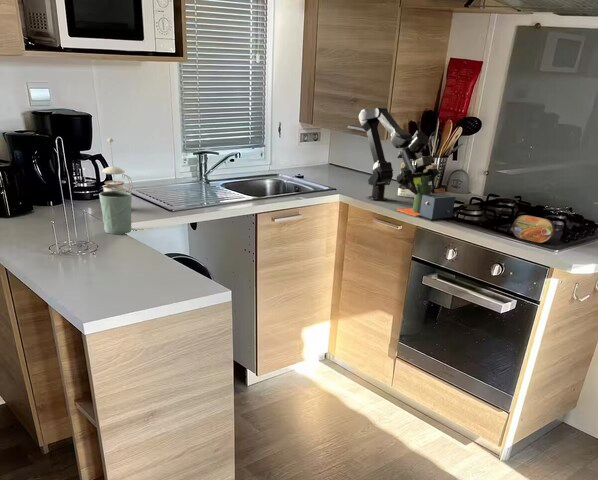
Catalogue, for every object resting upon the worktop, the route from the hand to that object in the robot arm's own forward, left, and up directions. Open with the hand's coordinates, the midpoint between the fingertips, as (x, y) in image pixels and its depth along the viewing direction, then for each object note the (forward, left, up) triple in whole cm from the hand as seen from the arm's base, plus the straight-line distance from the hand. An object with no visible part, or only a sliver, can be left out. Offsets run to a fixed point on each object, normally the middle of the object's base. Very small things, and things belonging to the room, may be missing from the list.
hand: (425, 193), depth 246 cm
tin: (+43, +24, -8) cm, 50 cm away
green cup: (+25, -121, -8) cm, 124 cm away
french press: (-7, -122, -8) cm, 122 cm away
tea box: (-34, +11, -8) cm, 37 cm away
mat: (-2, -1, -8) cm, 8 cm away
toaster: (+8, +3, -8) cm, 11 cm away
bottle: (-1, 0, -7) cm, 8 cm away
